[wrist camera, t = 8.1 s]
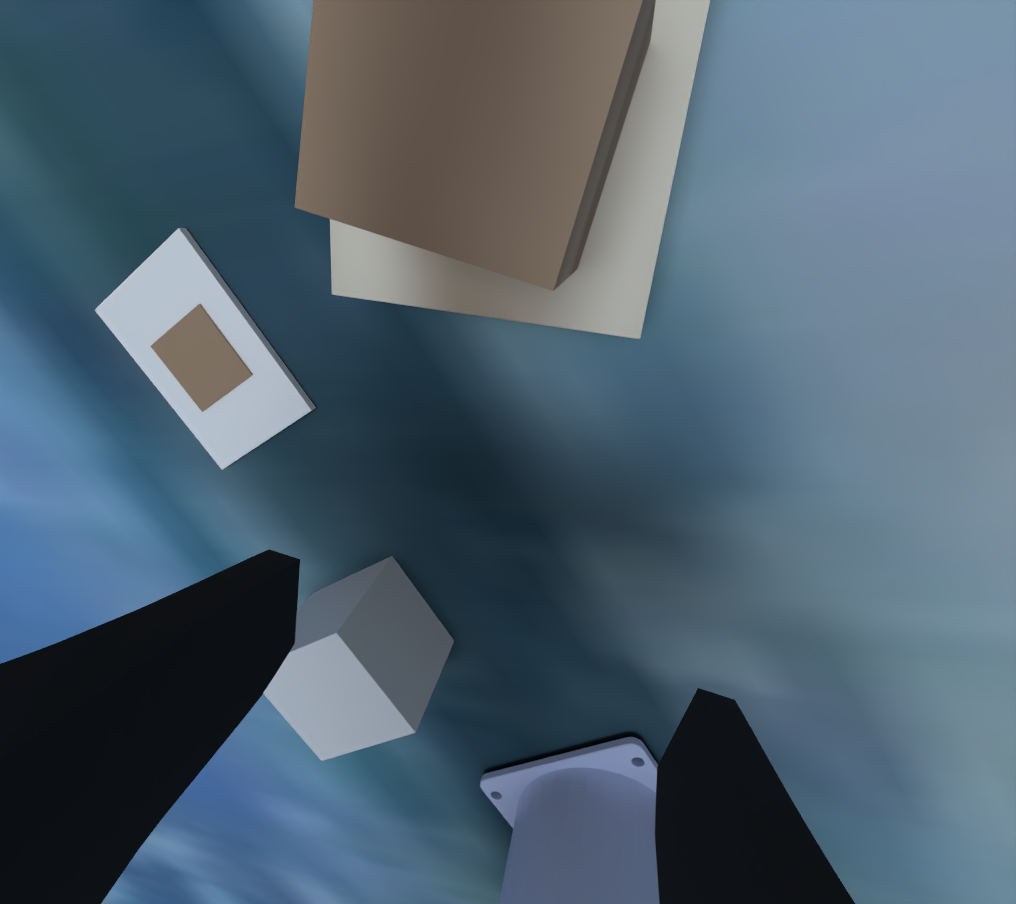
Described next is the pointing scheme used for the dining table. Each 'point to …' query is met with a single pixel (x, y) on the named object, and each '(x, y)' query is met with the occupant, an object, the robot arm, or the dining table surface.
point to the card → (203, 351)
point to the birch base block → (613, 234)
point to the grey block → (360, 662)
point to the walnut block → (470, 123)
